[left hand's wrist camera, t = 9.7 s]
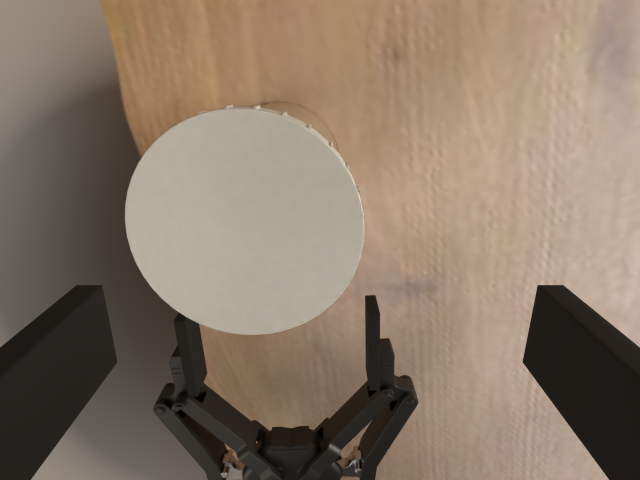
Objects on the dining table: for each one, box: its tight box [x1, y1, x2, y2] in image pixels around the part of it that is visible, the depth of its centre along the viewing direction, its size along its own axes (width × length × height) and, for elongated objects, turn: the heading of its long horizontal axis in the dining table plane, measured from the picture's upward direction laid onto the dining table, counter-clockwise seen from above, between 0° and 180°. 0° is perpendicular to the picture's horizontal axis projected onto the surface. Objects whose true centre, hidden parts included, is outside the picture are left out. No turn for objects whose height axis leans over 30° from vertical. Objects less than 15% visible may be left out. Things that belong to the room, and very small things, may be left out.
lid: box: [125, 105, 365, 335], centre depth 18 cm, size 10×10×2 cm
